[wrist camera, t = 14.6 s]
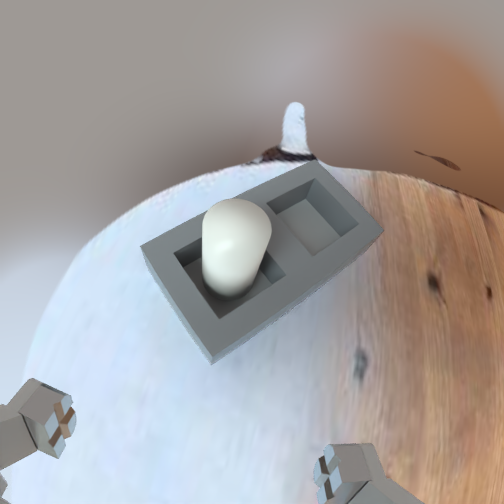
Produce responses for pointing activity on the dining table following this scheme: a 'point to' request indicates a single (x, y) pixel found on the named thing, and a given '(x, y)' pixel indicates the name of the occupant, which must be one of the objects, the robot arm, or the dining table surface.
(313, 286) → the socket block
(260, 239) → the plug
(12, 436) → the robot arm
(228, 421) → the dining table surface
